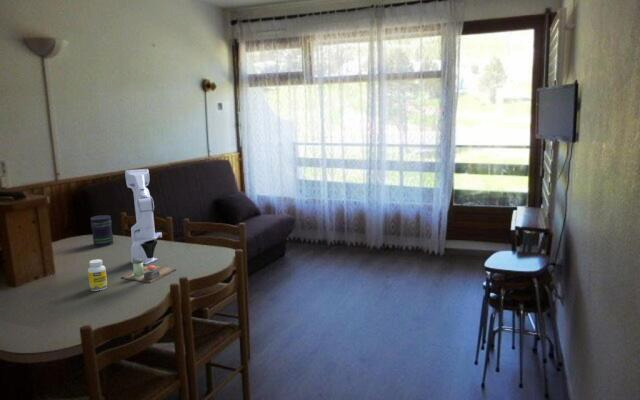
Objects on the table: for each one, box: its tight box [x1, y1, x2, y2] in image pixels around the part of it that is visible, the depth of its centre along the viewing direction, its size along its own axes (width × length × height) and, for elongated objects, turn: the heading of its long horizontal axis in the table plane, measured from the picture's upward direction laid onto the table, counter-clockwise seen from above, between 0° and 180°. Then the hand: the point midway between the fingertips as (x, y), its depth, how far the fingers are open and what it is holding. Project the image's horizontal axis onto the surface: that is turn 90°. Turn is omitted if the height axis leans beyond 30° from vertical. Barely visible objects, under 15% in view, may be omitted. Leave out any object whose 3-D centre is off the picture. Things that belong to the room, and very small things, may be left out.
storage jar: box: [90, 214, 114, 248], centre depth 249 cm, size 10×10×15 cm
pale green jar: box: [131, 258, 144, 277], centre depth 201 cm, size 4×4×7 cm
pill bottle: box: [87, 258, 108, 292], centre depth 188 cm, size 6×6×12 cm
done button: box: [146, 264, 156, 271], centre depth 198 cm, size 3×3×2 cm
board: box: [120, 264, 177, 283], centre depth 204 cm, size 16×16×3 cm
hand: (150, 257), depth 197 cm, fingers closed
